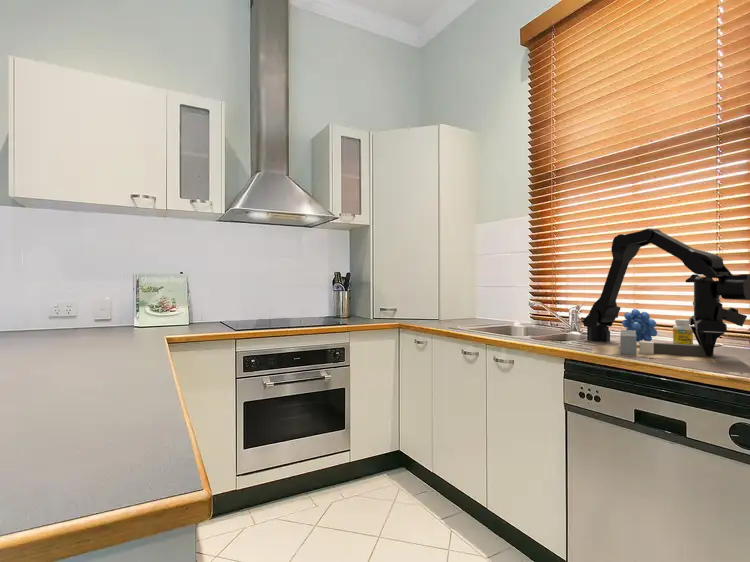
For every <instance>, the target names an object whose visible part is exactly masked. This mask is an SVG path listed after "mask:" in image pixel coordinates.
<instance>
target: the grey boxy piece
mask: <svg viewBox="0 0 750 562" xmlns="http://www.w3.org/2000/svg"><path fill="white" fill-rule="evenodd" d="M619 338H620V341H619V344H620V355H619V356H621V355H631V356H630V357H634V356H636V345H637V341H636V330H626V329H621V330H620V337H619Z"/></svg>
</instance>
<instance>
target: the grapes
mask: <svg viewBox="0 0 750 562" xmlns="http://www.w3.org/2000/svg"><path fill="white" fill-rule="evenodd" d="M630 311H631V312H625V313H624V314H623V317H624V319H623V320H622V321H621V324H622V326H623V328H625V330H636V342H639V341H653V337H657V336H658V330H657V329H656V327H657V325H658V324H657V322H656V321H655V320H654V319H652V318H650V317H651V316H650V314H649V313H648V312H646V311H642V312H641V311H640V310H639V309H635V308H633V309H632V310H630Z"/></svg>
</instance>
